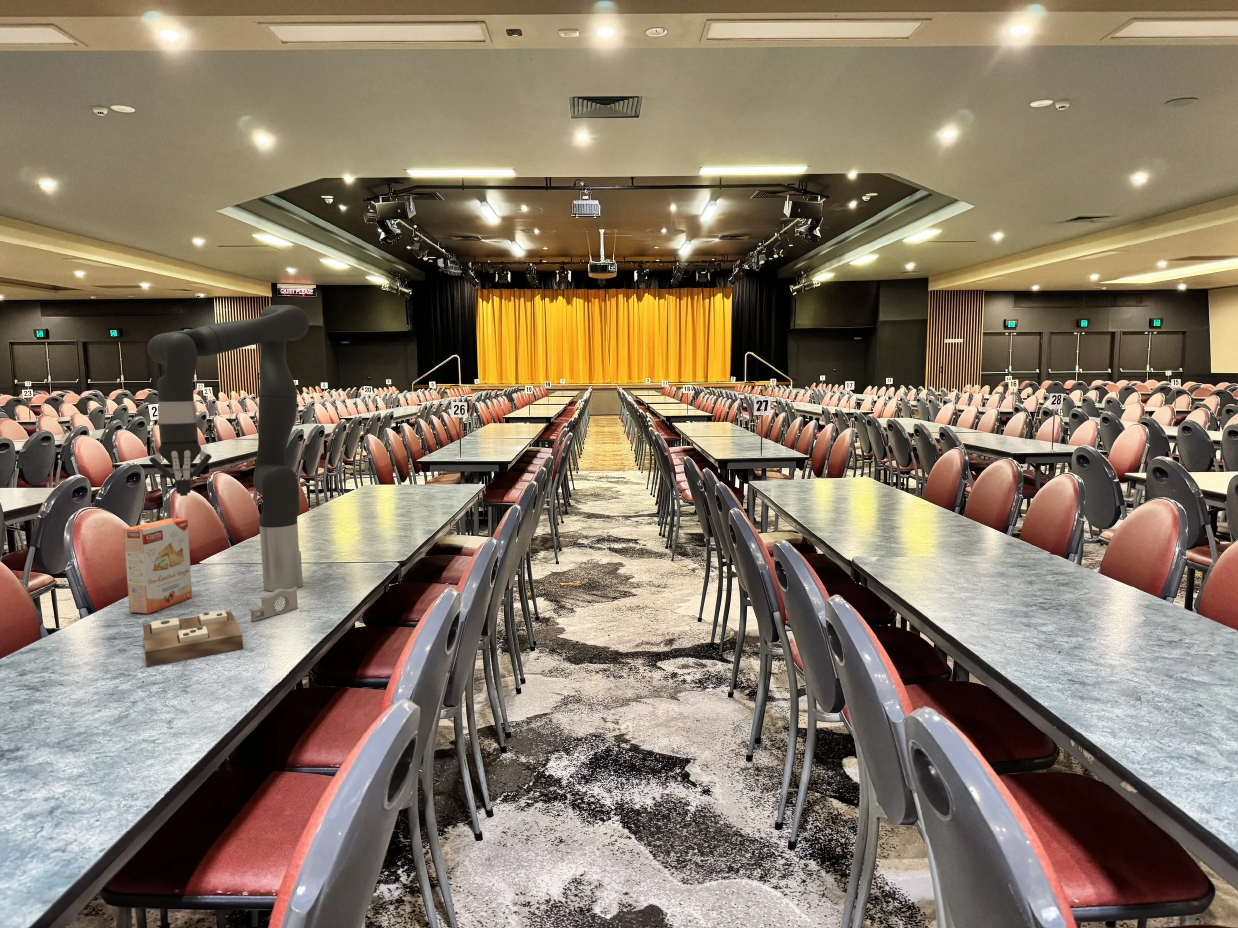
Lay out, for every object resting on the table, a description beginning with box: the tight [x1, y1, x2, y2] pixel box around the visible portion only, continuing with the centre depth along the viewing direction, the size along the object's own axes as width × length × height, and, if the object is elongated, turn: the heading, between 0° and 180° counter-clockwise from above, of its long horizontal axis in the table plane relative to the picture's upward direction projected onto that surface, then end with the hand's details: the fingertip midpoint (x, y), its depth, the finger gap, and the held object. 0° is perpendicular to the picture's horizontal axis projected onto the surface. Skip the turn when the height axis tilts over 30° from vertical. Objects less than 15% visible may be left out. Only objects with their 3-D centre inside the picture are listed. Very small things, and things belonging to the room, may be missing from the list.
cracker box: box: [123, 517, 193, 615], centre depth 181 cm, size 14×6×21 cm, turn 168°
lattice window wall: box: [248, 587, 299, 622], centre depth 174 cm, size 12×2×6 cm, turn 149°
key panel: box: [142, 610, 244, 668], centre depth 156 cm, size 17×19×3 cm
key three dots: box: [178, 626, 208, 643], centre depth 151 cm, size 5×5×4 cm
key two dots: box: [198, 609, 227, 625], centre depth 162 cm, size 5×5×4 cm
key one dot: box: [150, 617, 180, 633], centre depth 157 cm, size 5×5×4 cm
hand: (183, 495), depth 171 cm, fingers closed
